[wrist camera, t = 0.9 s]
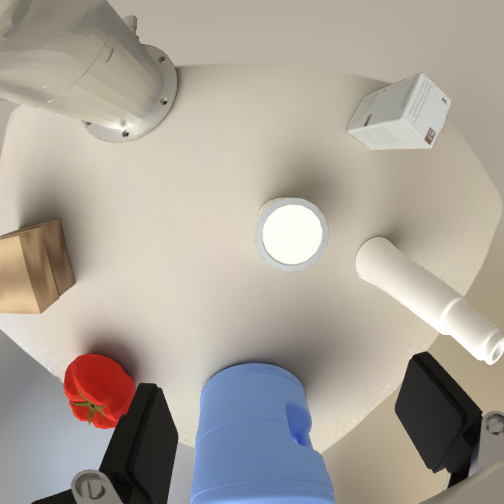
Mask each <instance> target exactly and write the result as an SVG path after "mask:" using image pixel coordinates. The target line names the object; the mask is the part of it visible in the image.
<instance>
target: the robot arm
mask: <svg viewBox="0 0 504 504" xmlns="http://www.w3.org/2000/svg"><path fill="white" fill-rule="evenodd" d="M136 29H137V18H136V17H135V16H126V17H124V18H122V19H121V17H120V16H119V15H118V14H117V12H116V11H115V10H114V9H113V7H112V6H111V5H110V4H109V2H108V1H107V0H0V100H3V101H9V102H14V103H19V104H23V105H28V106H31V107H35V108H39V109H43V110H47V111H51V112H55V113H59V114H63V115H66V116H70V117H73V118H77V119H80V120H81V121H82V123H83V125H84V126H85V128H86V129H87V130H88V131H89V132H90V134H92V135H93V136H95V137H96V138H98V139H101V140H104V141H107V142H127V141H132V140H134V139H137V138H139V137H141V136H143V135H145V134H146V133H148V132H150V131H151V130H152V129H153V128H155V127H156V126H157V125H158V124H159V123H160V122H161V121H162V120H163V118H164V117H165V116H166V114H167V113H168V111H169V110H170V108H171V106H172V104H173V102H174V99H175V96H176V92H177V80H178V79H177V74H176V70H175V67H174V65H173V63H172V61H171V60H170V58H169V57H168V56H167V55H166V54H165V53H164V52H163V51H161V50H159V49H158V48H156V47H153V46H150V45H145V44H141V43H140V42H139V37H138V36H137V35H135V32H136ZM162 61H164V62H163V63H161V62H162ZM166 101H167V104H166V105H164V102H166ZM127 133H129V135H128V137H127ZM395 412H396V414H397V416H398V418H399V419H400V421H401V423H402V425H403V426H404V428H405V430H406V431H407V433H408V435H409V437H410V438H411V440H412V442H413V443H414V445H415V447H416V449H417V450H418V452H419V454H420V456H421V458H422V459H423V461H424V463H425V465H426V466H427V468H428V469H432V471H433V473H436V472H438V471H440V470H442V469H444V468H446V469H447V471H448V472H447V476H446V479H445V483H444V486H443V490H442V492H441V493H439V494H437V495H435V496H433V497H431V498H430V499H427V500H425V501H423V502H421V503H419V504H504V413H502V412H500V411H491V412H488V413H487V414H486V415H485V416H484V417H482V415H481V414H482V413H483V412H482V411H481V410H480V408H479V407H478V406H477V405H476V404H475V403H474V402H473V400H471V398H470V397H469V396H468V395H467V393H466V392H465V391H464V390H463V389H462V388H461V387H460V386H459V385H458V384H457V382H456V381H455V380H454V379H453V378H452V377H451V376H450V375H449V374H448V373H447V371H445V369H444V368H443V367H442V366H441V365H440V364H439V363H438V362H437V361H436V360H435V359H434V358H433V357H432V355H431V354H429V353H428V352H426V351H425V352H422V353H418V354H415V355H413V356H412V359H410V360H409V363H408V366H407V370H406V373H405V377H404V380H403V383H402V386H401V390H400V392H399V395H398V398H397V401H396V404H395ZM177 444H178V432H177V429H176V427H175V424H174V421H173V419H172V416H171V413H170V411H169V408H168V405H167V402H166V399H165V397H164V394H163V391H162V389H161V388H158V387H157V385H156V384H154V383H140V384H139V385H138V388H137V390H136V392H135V395H134V397H133V399H132V402H131V404H130V407H129V409H128V412H127V414H123V415H122V416H121V417H120V419H119V421H118V423H117V425H116V428H115V430H114V433H113V435H112V438H111V440H110V443H109V445H108V448H107V450H106V453H105V455H104V458H103V460H102V463H101V465H100V468H99V471H97V470H90V469H89V470H84V471H82V472H79V473H78V474H77V475H76V476H75V477H74V478H73V480H72V483H71V489H69V490H67V491H64V492H61V493H58V494H55V495H52V496H49V497H46V498H43V499H40V500H37V501H35V502H33V503H32V504H167V500H168V494H169V488H170V482H171V476H172V470H173V465H174V460H175V454H176V449H177Z"/></svg>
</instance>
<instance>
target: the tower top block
mask: <svg viewBox="0 0 504 504" xmlns="http://www.w3.org/2000/svg"><path fill="white" fill-rule="evenodd" d="M58 299H59V294H58V291H57V288H56V284H55V281H54V277H53V274H52V270H51V266H50V262H49V258H48V254H47V250H46V245H45V241H44V236H43V231H42V227H38V228H34V229H30V230H26V231H21V232H17V233H13V234H9V235H5V236H1V237H0V313H19V314H41V313H42V312H44V311H45V310H46V309H47V308H48V307H49V306H51V305H52V304H53V303H54V302H55V301H56V300H58Z"/></svg>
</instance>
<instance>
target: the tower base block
mask: <svg viewBox="0 0 504 504" xmlns="http://www.w3.org/2000/svg"><path fill="white" fill-rule="evenodd" d="M38 227H42V231H43V236H44V241H45V245H46V250H47V254H48V258H49V262H50V266H51V270H52V274H53V277H54V281H55V284H56V288H57V291H58V294H59V296H61V295H62V294H63V293H64V292H66V291H67V290H68V289H69V288H71V287H72V286H73V285H74V284H76V283H75V279H74V276H73V272H72V269H71V265H70V261H69V257H68V253H67V248H66V244H65V240H64V235H63V230H62V225H61V220H60V218H59V219H55V220H51V221H47V222H44V223H40V224H36V225H32V226H29V227H25V228H21V229H18V230H15V231H13V232H10V233H7V234H5V235H9V234H13V233H17V232H21V231H26V230H30V229H34V228H38ZM5 235H2V236H5Z"/></svg>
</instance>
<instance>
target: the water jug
mask: <svg viewBox="0 0 504 504" xmlns="http://www.w3.org/2000/svg"><path fill="white" fill-rule="evenodd" d="M311 425H312V420H311V416H310V412H309V409H308V406H307V402H306V395H305V392H304V389H303V386H302V384H301V383H300V381H299V380H298V379H297V377H295V376H294V375H293V374H292V373H290V372H289V371H287V370H285V369H283V368H281V367H278V366H275V365H271V364H264V363H247V364H240V365H236V366H232V367H229V368H227V369H225V370H223V371H221V372H219V373H217V374H216V375H214V376H213V377H212V378H211V379H210V380H209V381H208V382H207V383H206V385H205V386H204V388H203V391H202V394H201V400H200V417H199V426H198V431H197V435H196V443H195V451H196V456H195V466H194V478H193V483H192V487H191V496H190V500H191V501H190V502H191V504H335V498H334V494H333V486H332V483H331V479H330V476H329V474H328V472H327V470H326V467H325V463H324V460H323V457H322V456H321V455H320V454H319V453H318V452H317V451H315V450H313V447H312V444H311V440H310V436H309V433H310V430H311Z"/></svg>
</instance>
